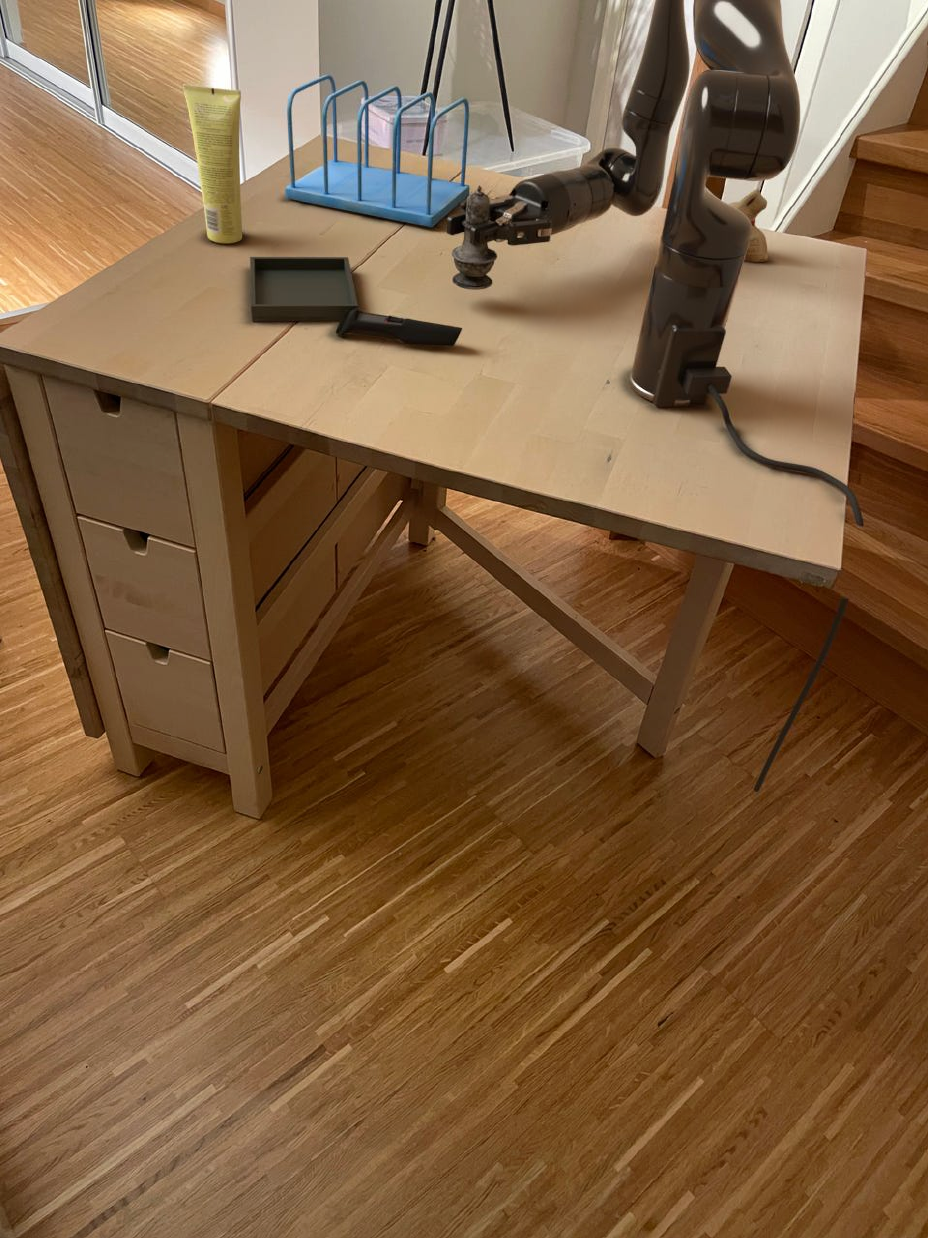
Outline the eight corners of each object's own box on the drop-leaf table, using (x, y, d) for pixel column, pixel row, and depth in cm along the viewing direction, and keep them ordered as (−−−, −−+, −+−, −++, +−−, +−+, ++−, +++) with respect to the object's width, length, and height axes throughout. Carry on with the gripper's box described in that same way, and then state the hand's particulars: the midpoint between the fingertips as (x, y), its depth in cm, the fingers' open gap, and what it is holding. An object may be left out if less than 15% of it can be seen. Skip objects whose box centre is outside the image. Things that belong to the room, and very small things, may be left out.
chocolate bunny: (734, 242, 147) (752, 176, 140) (771, 260, 142) (791, 193, 135) (709, 247, 144) (727, 180, 137) (746, 266, 140) (766, 198, 133)
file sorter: (469, 196, 153) (477, 93, 142) (432, 231, 141) (437, 121, 130) (332, 169, 158) (330, 67, 147) (284, 200, 146) (278, 91, 135)
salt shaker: (443, 274, 121) (447, 178, 113) (482, 269, 124) (490, 175, 115) (461, 292, 118) (468, 195, 110) (502, 287, 120) (511, 191, 112)
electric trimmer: (457, 358, 112) (459, 334, 110) (334, 337, 113) (333, 313, 111) (462, 344, 115) (465, 320, 113) (342, 324, 116) (342, 300, 114)
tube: (235, 228, 136) (221, 79, 122) (253, 240, 133) (240, 89, 120) (200, 235, 133) (182, 83, 120) (217, 247, 130) (201, 93, 117)
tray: (358, 320, 117) (358, 305, 116) (252, 321, 115) (250, 306, 113) (348, 271, 128) (348, 256, 126) (251, 271, 125) (250, 256, 124)
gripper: (515, 159, 125) (422, 183, 115) (595, 190, 118) (504, 218, 108) (509, 216, 130) (420, 243, 120) (586, 248, 123) (498, 280, 113)
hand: (460, 231), depth 114 cm, fingers closed on salt shaker, 3 cm apart
